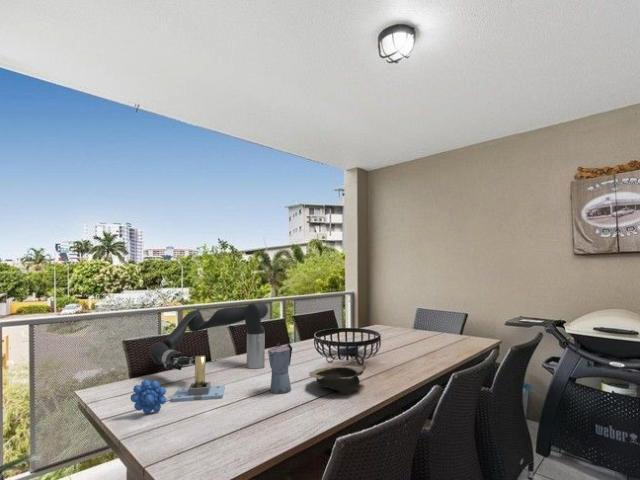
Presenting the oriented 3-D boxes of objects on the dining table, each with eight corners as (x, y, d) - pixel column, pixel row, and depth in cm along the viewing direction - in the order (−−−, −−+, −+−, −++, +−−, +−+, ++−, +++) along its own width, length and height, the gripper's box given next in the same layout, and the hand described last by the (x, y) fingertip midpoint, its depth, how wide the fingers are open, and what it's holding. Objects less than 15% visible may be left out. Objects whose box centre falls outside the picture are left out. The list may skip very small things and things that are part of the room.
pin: (205, 389, 146) (206, 355, 147) (204, 393, 142) (204, 357, 143) (195, 390, 145) (196, 355, 146) (193, 393, 141) (194, 358, 142)
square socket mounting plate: (224, 388, 151) (224, 379, 152) (222, 398, 140) (222, 388, 140) (178, 391, 148) (178, 382, 148) (171, 401, 136) (172, 392, 136)
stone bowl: (365, 399, 137) (362, 375, 138) (303, 400, 142) (301, 376, 143) (369, 379, 161) (367, 358, 162) (316, 379, 166) (314, 360, 167)
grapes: (130, 422, 118) (131, 385, 119) (129, 414, 124) (130, 380, 125) (167, 414, 124) (168, 380, 125) (165, 408, 130) (166, 374, 131)
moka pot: (260, 393, 144) (261, 344, 146) (281, 382, 158) (281, 337, 160) (279, 397, 140) (280, 346, 142) (299, 386, 154) (299, 339, 155)
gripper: (188, 364, 166) (205, 370, 155) (157, 370, 156) (173, 378, 145) (188, 347, 167) (205, 353, 156) (157, 353, 157) (173, 359, 146)
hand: (190, 365), depth 150 cm, fingers open, 8 cm apart
